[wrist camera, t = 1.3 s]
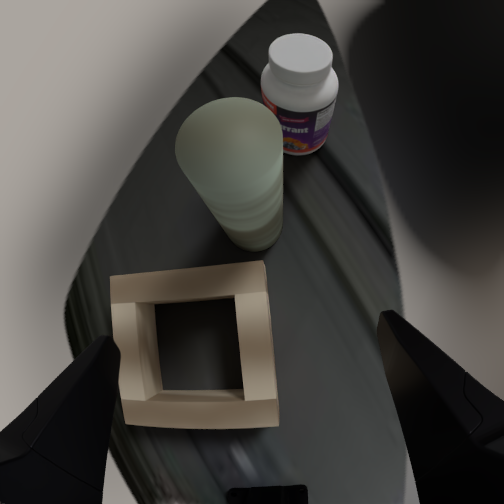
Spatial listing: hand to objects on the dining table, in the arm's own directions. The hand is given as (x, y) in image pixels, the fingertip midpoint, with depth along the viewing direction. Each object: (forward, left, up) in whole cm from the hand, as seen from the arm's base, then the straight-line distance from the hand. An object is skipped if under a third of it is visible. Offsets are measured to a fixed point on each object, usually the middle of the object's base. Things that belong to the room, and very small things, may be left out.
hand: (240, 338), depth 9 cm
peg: (+8, 0, -13) cm, 15 cm away
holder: (-1, +5, -13) cm, 14 cm away
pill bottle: (+16, -5, -14) cm, 21 cm away
